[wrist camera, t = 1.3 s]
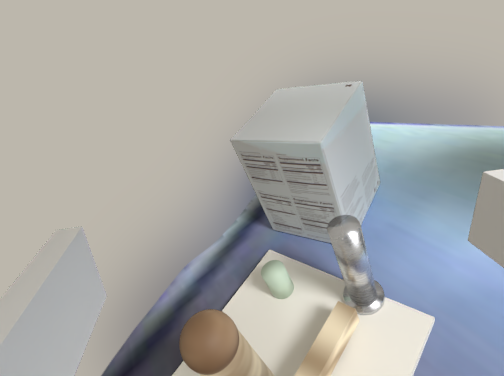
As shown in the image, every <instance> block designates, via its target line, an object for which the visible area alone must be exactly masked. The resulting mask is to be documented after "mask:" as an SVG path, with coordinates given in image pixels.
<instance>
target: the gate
mask: <svg viewBox="0 0 504 376" xmlns="http://www.w3.org/2000/svg"><path fill="white" fill-rule="evenodd" d="M358 323H359V318H358V315H357V312H356V309H355V308H352V307H350V306H348V305H346V304H344V303H342V302H339V301H338V302H337V304H336V305H335V307H334V309H333V310H332V312H331V314H330V315H329V317H328V319H327V321H326V322H325V324H324V326H323V327H322V329H321V331H320V333H319V334H318V336H317V338H316V339H315V341H314V343H313V345H312V346H311V348H310V350H309V351H308V353H307V355H306V357H305V358H304V360H303V362H302V363H301V365H300V367H299V368H298V370H297V372H296V374H295V375H294V376H331V374H332V372H333V370H334V368H335V366H336V364H337V362H338V361H339V359H340V357H341V355H342V353H343V351H344V349H345V347H346V345H347V344H348V342H349V340H350V338H351V336H352V334H353V332H354V330H355V328H356V327H357V325H358ZM179 345H180V352H181V356H182V358H183V360H184V362H185V363H186V365H187V366H188V367H189V368H190V369H192V370H193V371H194V372H196V373H199V374H200V375H201V376H275V375H274V374H273V373H272V372H271V370H270V369H269V368H268V367H267V365H266V364H265V363H264V362H263V360H262V359H261V358H260V357H259V355H258V354H257V353H256V352H255V350H254V349H253V348H252V347H251V345H250V344H249V343H248V341H247V340H246V339H245V338H244V336H243V335H242V334H241V333H240V331H239V330H238V329H237V327H236V325H235V323H234V321H233V320H232V319H231V318H230V317H229V316H228V315H227V314H225V313H224V312H221V311H219V310H213V309H209V310H203V311H200V312H198V313H196V314H195V315H193V316H192V317H191V318H190V319H189V320H188V321H187V322H186V324H185V326H184V327H183V329H182V332H181V335H180V342H179Z"/></svg>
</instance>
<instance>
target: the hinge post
mask: <svg viewBox="0 0 504 376" xmlns="http://www.w3.org/2000/svg"><path fill="white" fill-rule="evenodd" d="M327 231H328V234H329V237H330V240H331V243H332V246H333V249H334V252H335V255H336V258H337V261H338V264H339V267H340V270H341V273H342V276H343V279H344V281H345V284H346V286H345V288H344V291H343V298H344V301H345V303H346V305H348V306H350V307H352V308H355V309H356V312H357V314H359V315H371V314H374V313H376V312H378V311H379V310H380V309H381V308H382V306H383V304H384V301H385V296H384V291H383V288H382V287H381V285H380V284H379V283H378V282H376V281H375V280H374V278H373V274H372V270H371V266H370V262H369V258H368V254H367V250H366V246H365V242H364V238H363V233H362V229H361V225H360V222H359V220H358V219H357V218H355V217H354V216H351V215H340V216H337V217H335V218H333V219H332V220H331V221H330V222H329V224H328V226H327Z"/></svg>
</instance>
